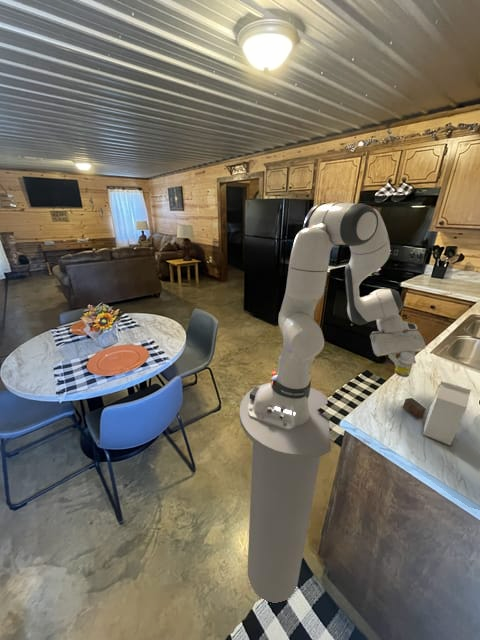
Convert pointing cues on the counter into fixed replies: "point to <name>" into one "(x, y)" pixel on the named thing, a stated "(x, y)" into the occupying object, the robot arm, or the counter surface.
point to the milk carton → (446, 412)
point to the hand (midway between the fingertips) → (406, 364)
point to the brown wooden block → (414, 408)
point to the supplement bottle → (404, 364)
